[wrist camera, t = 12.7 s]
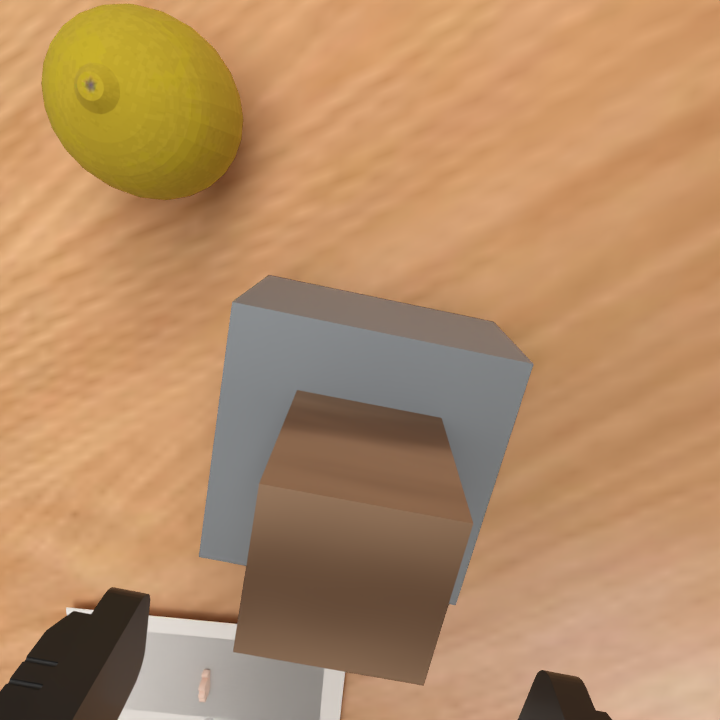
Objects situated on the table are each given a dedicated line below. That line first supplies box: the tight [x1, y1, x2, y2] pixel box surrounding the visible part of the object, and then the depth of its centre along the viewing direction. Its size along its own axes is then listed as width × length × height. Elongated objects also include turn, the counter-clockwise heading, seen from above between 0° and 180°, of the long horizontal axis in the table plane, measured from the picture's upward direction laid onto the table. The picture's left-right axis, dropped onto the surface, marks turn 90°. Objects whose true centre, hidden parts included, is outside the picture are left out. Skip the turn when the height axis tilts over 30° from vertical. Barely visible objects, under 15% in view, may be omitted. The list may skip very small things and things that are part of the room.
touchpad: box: [66, 607, 345, 720], centre depth 29 cm, size 8×15×2 cm, turn 85°
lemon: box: [41, 4, 243, 200], centre depth 17 cm, size 6×6×8 cm
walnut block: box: [233, 390, 473, 686], centre depth 15 cm, size 5×5×6 cm
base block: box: [199, 275, 533, 605], centre depth 21 cm, size 10×10×6 cm
